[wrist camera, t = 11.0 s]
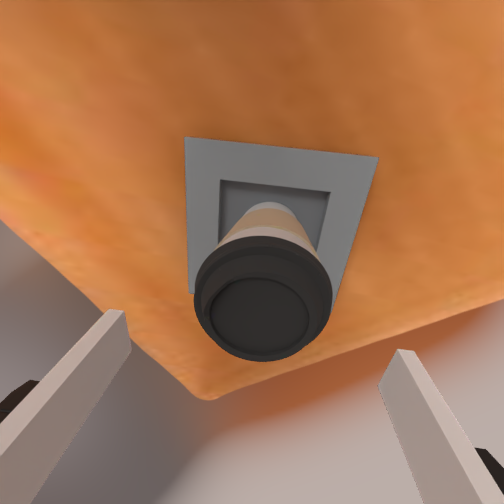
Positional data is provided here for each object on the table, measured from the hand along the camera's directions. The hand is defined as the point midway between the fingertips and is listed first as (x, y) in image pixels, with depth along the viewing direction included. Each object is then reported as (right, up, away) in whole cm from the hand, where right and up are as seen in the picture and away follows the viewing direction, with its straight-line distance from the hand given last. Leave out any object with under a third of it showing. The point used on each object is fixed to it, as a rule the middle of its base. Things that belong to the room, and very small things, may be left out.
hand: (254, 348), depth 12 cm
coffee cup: (+2, +7, +15) cm, 17 cm away
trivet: (+2, +7, +16) cm, 18 cm away
